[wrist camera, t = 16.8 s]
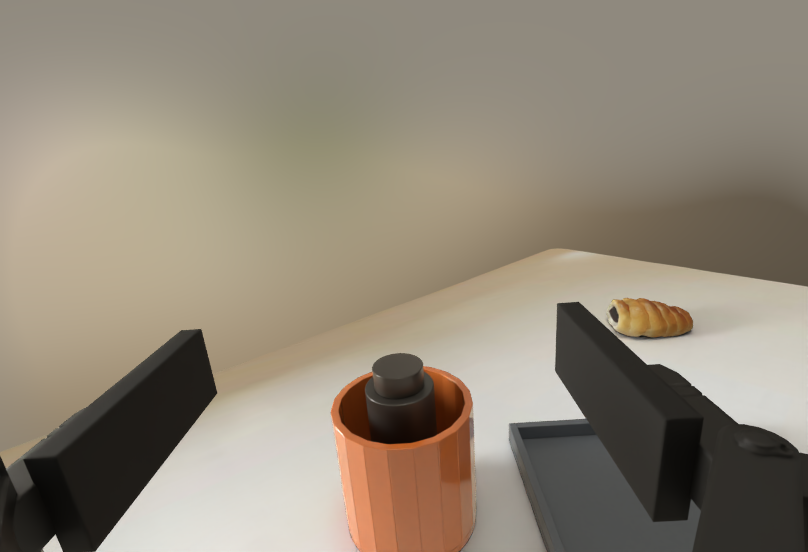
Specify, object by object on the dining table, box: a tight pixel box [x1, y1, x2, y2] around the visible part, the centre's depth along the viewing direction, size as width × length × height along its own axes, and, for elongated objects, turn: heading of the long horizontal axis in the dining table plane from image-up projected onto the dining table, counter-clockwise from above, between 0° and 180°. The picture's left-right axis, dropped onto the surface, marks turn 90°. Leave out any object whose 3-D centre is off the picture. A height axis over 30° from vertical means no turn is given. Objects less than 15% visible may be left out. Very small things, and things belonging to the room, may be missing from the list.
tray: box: [509, 419, 701, 552], centre depth 29 cm, size 17×13×2 cm
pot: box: [331, 366, 476, 552], centre depth 28 cm, size 9×9×9 cm
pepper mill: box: [365, 353, 437, 444], centre depth 28 cm, size 4×4×11 cm
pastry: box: [607, 298, 693, 337], centre depth 52 cm, size 9×7×4 cm
